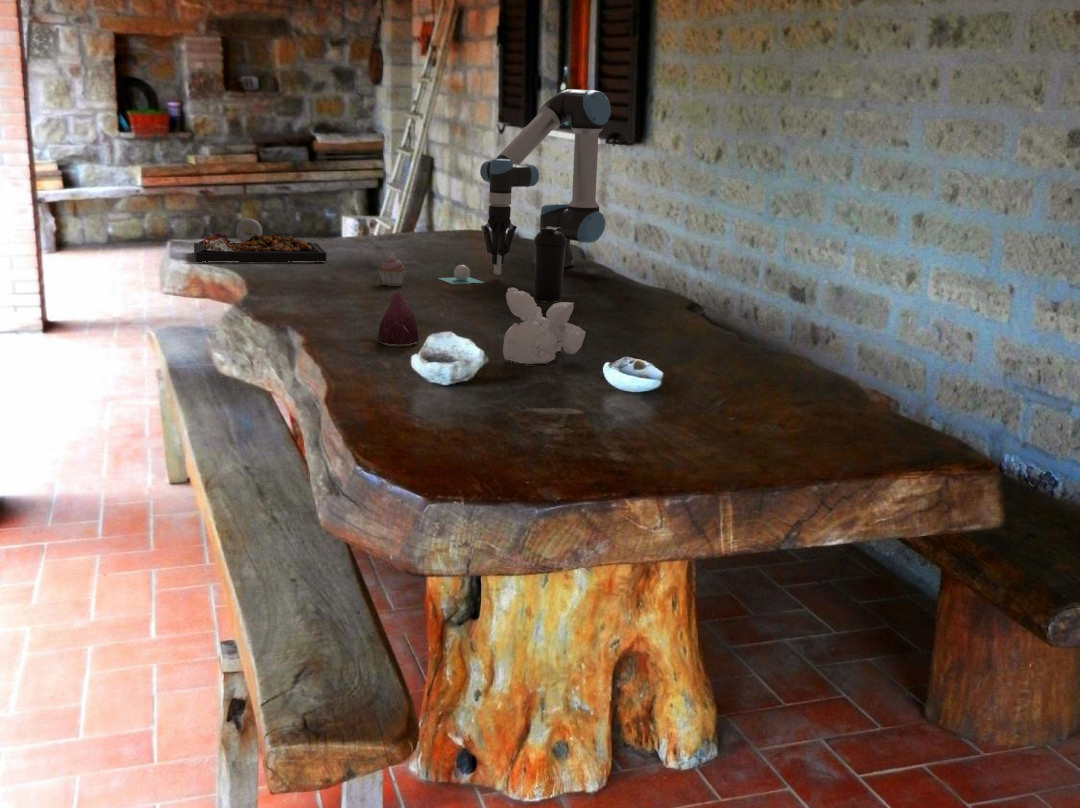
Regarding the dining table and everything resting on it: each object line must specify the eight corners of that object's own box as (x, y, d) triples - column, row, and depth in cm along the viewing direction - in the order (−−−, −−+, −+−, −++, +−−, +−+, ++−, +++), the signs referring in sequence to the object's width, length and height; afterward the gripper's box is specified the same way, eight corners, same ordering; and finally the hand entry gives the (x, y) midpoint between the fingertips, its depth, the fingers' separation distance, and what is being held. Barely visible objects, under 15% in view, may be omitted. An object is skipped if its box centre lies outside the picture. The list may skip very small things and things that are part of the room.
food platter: (196, 265, 400) (195, 235, 397) (194, 254, 422) (193, 226, 420) (326, 265, 414) (326, 236, 411) (317, 254, 436) (317, 227, 434)
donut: (262, 243, 454) (261, 218, 451) (262, 244, 450) (262, 219, 448) (236, 243, 451) (235, 217, 449) (236, 244, 448) (235, 218, 445)
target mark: (468, 277, 398) (468, 276, 398) (484, 283, 388) (484, 282, 388) (437, 278, 392) (437, 278, 392) (452, 284, 382) (452, 283, 382)
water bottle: (567, 299, 366) (571, 227, 360) (557, 304, 356) (561, 230, 350) (537, 296, 369) (541, 224, 363) (527, 301, 360) (530, 227, 353)
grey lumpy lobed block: (480, 327, 274) (516, 275, 285) (495, 386, 288) (528, 334, 299) (551, 342, 266) (585, 287, 278) (563, 401, 280) (594, 347, 292)
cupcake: (412, 286, 376) (412, 255, 374) (390, 288, 370) (390, 257, 367) (394, 281, 382) (394, 252, 380) (372, 284, 376) (372, 253, 373)
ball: (462, 281, 394) (467, 266, 393) (469, 284, 389) (475, 269, 389) (448, 276, 391) (454, 261, 390) (455, 279, 386) (461, 263, 386)
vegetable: (380, 350, 299) (374, 293, 298) (420, 346, 299) (414, 289, 299) (377, 349, 288) (371, 290, 288) (418, 345, 289) (412, 286, 288)
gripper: (511, 203, 397) (508, 271, 403) (477, 204, 390) (475, 272, 397) (521, 206, 391) (518, 274, 397) (488, 206, 384) (485, 276, 390)
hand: (497, 273), depth 397 cm, fingers closed
